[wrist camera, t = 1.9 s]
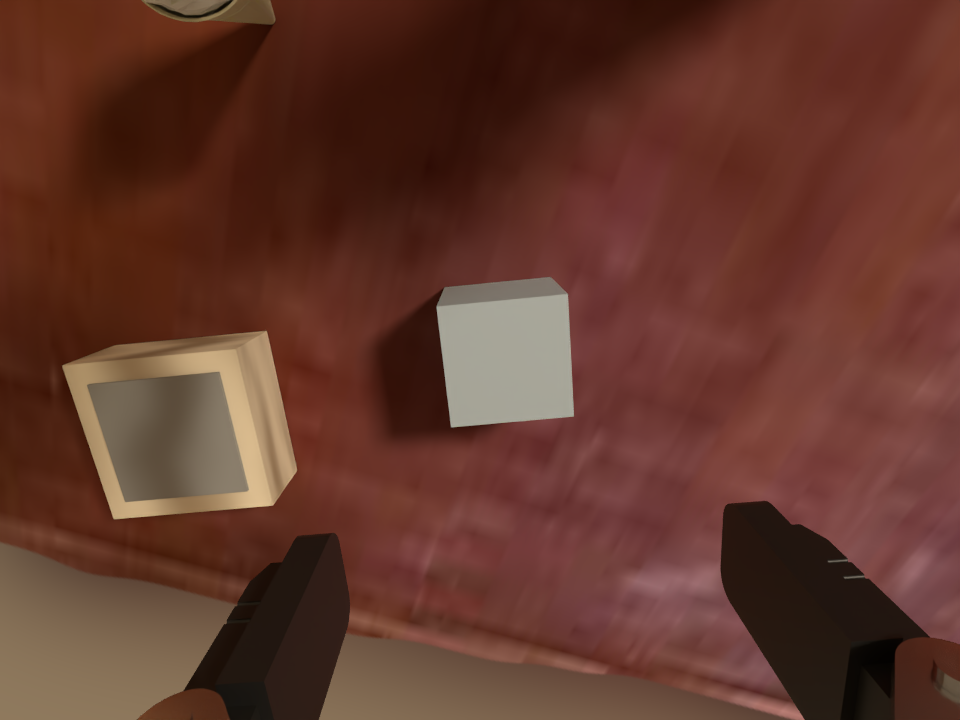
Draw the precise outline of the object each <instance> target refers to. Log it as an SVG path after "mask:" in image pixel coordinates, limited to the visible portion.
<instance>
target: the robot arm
mask: <svg viewBox="0 0 960 720" xmlns="http://www.w3.org/2000/svg"><path fill="white" fill-rule="evenodd" d="M721 578H722V583H723V586H724V590H725V592H726V595H727V597H728V599H729V601H730V603H731V604H732V606H733V608H734V609H735V611H736V612H737V614H738V615H739V617H740V619H741V620H742V622H743V623H744V625H745V626H746V628H747V630H748V631H749V633H750V634H751V636H752V637H753V639H754V641H755V642H756V644H757V645H758V647H759V648H760V650H761V652H762V653H763V655H764V656H765V658H766V659H767V661H768V663H769V664H770V666H771V667H772V669H773V670H774V672H775V674H776V675H777V677H778V678H779V680H780V681H781V683H782V685H783V686H784V688H785V689H786V691H787V692H788V694H789V696H790V697H791V699H792V700H793V702H794V703H795V705H796V707H797V708H798V710H799V711H800V713H801V714H802V716H803V718H804V719H805V720H960V645H959V644H957V643H954V642H950V641H946V640H942V639H936V638H930V637H929V636H928V635H927V634H926V633H925V632H924V631H923V630H922V629H921V628H920V627H919V626H918V625H917V624H916V623H915V622H914V621H913V620H911V619H910V618H909V617H908V616H907V615H906V614H905V613H904V612H903V611H902V610H901V609H900V608H899V607H898V606H897V605H896V604H895V603H894V602H893V601H892V600H890V599H889V598H888V597H887V596H886V595H885V594H884V593H883V592H882V591H881V590H880V589H879V588H878V587H877V586H876V585H875V584H874V583H873V582H872V581H871V580H869V579H865V577H864V574H863V573H862V572H861V571H860V570H859V569H858V568H857V567H856V566H855V565H854V564H853V563H852V562H848V560H847V558H846V557H845V556H844V555H843V554H842V553H841V552H840V551H839V550H838V549H837V548H836V547H835V546H834V545H833V544H832V543H831V542H830V541H828V540H827V539H826V538H824V537H822V536H820V535H818V534H817V533H815V532H813V531H811V530H809V529H808V528H806V527H804V526H802V525H800V524H797V525H791V524H790V523H789V522H788V521H787V519H786V518H785V517H784V516H783V515H782V514H781V513H780V512H779V511H778V510H777V509H776V508H775V507H774V506H773V505H772V504H770V503H769V502H767V501H758V502H745V503H732V504H727V505H726V506H725V509H724V513H723V530H722V550H721ZM349 613H350V599H349V592H348V586H347V581H346V576H345V570H344V565H343V560H342V554H341V549H340V544H339V540H338V537H337V535H336V534H335V533H328V534H315V535H302V536H298V537H297V538H296V539H295V540H294V542H293V544H292V546H291V547H290V549H289V551H288V553H287V555H286V556H285V558H284V560H283V562H281V563H271V564H270V565H268V566H267V567H266V568H265V569H264V570H263V571H262V572H261V573H259V574H258V575H257V576H256V577H255V578H254V579H253V580H251V581H250V583H249V584H248V586H247V588H246V589H245V591H244V593H243V594H242V596H241V597H240V599H239V601H238V605H237V606H236V607H235V608H234V609H233V611H232V613H231V614H230V616H229V617H228V619H227V624H224V625H223V627H222V629H221V630H220V632H219V634H218V636H217V637H216V639H215V640H214V642H213V643H212V645H211V647H210V649H209V650H208V652H207V653H206V655H205V657H204V658H203V660H202V662H201V663H200V665H199V667H198V668H197V670H196V671H195V673H194V675H193V676H192V678H191V680H190V681H189V683H188V684H187V686H186V688H185V690H184V691H182V692H180V693H177V694H174V695H172V696H170V697H168V698H166V699H164V700H162V701H161V702H159V703H157V704H155V705H154V706H153V707H151V708H150V709H148V710H147V711H146V712H145V713H144V714H142V715H141V716H140V717H139V718H138V719H137V720H319V717H320V714H321V710H322V707H323V704H324V701H325V698H326V694H327V691H328V688H329V685H330V682H331V678H332V675H333V672H334V669H335V666H336V662H337V659H338V656H339V653H340V649H341V646H342V643H343V640H344V637H345V633H346V630H347V627H348V622H349Z"/></svg>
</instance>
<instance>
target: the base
mask: <svg viewBox="0 0 960 720" xmlns="http://www.w3.org/2000/svg"><path fill="white" fill-rule="evenodd" d="M62 367H63V370H64V373H65V376H66V379H67V382H68V385H69V388H70V391H71V394H72V397H73V400H74V403H75V406H76V409H77V412H78V415H79V418H80V421H81V423H82V426H83V429H84V432H85V435H86V438H87V441H88V444H89V447H90V450H91V453H92V456H93V459H94V462H95V465H96V468H97V471H98V474H99V477H100V480H101V483H102V486H103V489H104V492H105V495H106V498H107V501H108V503H109V506H110V509H111V512H112V515H113V518H114V519H123V518H134V517H146V516H157V515H169V514H180V513H192V512H203V511H215V510H227V509H238V508H250V507H261V506H273V505H274V503H275V502H276V500H277V499H278V498H279V496H280V495H281V493H282V492H283V490H284V489H285V487H286V486H287V484H288V483H289V482H290V480H291V479H292V477H293V476H294V474H295V473H296V471H297V467H296V462H295V458H294V453H293V449H292V444H291V439H290V435H289V430H288V426H287V421H286V416H285V412H284V407H283V403H282V398H281V393H280V389H279V384H278V380H277V375H276V370H275V366H274V361H273V357H272V352H271V347H270V343H269V338H268V334H267V331H260V332H249V333H239V334H228V335H218V336H207V337H197V338H186V339H176V340H165V341H155V342H145V343H134V344H124V345H114V346H112V347H109V348H106V349H104V350H101V351H99V352H96V353H93V354H91V355H88V356H85V357H83V358H80V359H78V360H75V361H72V362H70V363H67V364H64V365H62Z"/></svg>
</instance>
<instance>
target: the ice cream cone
mask: <svg viewBox="0 0 960 720" xmlns="http://www.w3.org/2000/svg"><path fill="white" fill-rule="evenodd" d="M142 1H143V2H144V3H145V4H146V5H147V6H149V7H150V8H152V9H153V10H155V11H157V12H158V13H160V14H162V15H164V16H167V17H169V18H172V19H175V20H180V21H184V22H200V21H205V20H215V21H229V22H242V23H256V24H270V25H272V24H274V22H275V16H274V12H273V9H272V5H271V2H270V0H142Z"/></svg>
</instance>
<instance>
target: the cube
mask: <svg viewBox="0 0 960 720" xmlns="http://www.w3.org/2000/svg"><path fill="white" fill-rule="evenodd" d="M436 307H437V316H438V324H439V332H440V340H441V348H442V357H443V365H444V373H445V381H446V390H447V398H448V406H449V414H450V422H451V427H461V426H472V425H483V424H495V423H506V422H517V421H528V420H539V419H550V418H561V417H572V416H574V409H573V389H572V368H571V348H570V328H569V308H568V294H567V293H566V292H565V291H564V290H563V289H562V288H561V287H560V286H559V285H558V284H557V283H556V282H555V281H554V280H553V279H552V278H551V277H546V278H536V279H526V280H515V281H505V282H495V283H484V284H474V285H464V286H453V287H445V288H444V290H443V292H442V295H441V297H440V299H439V302H438V304H437V306H436Z"/></svg>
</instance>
